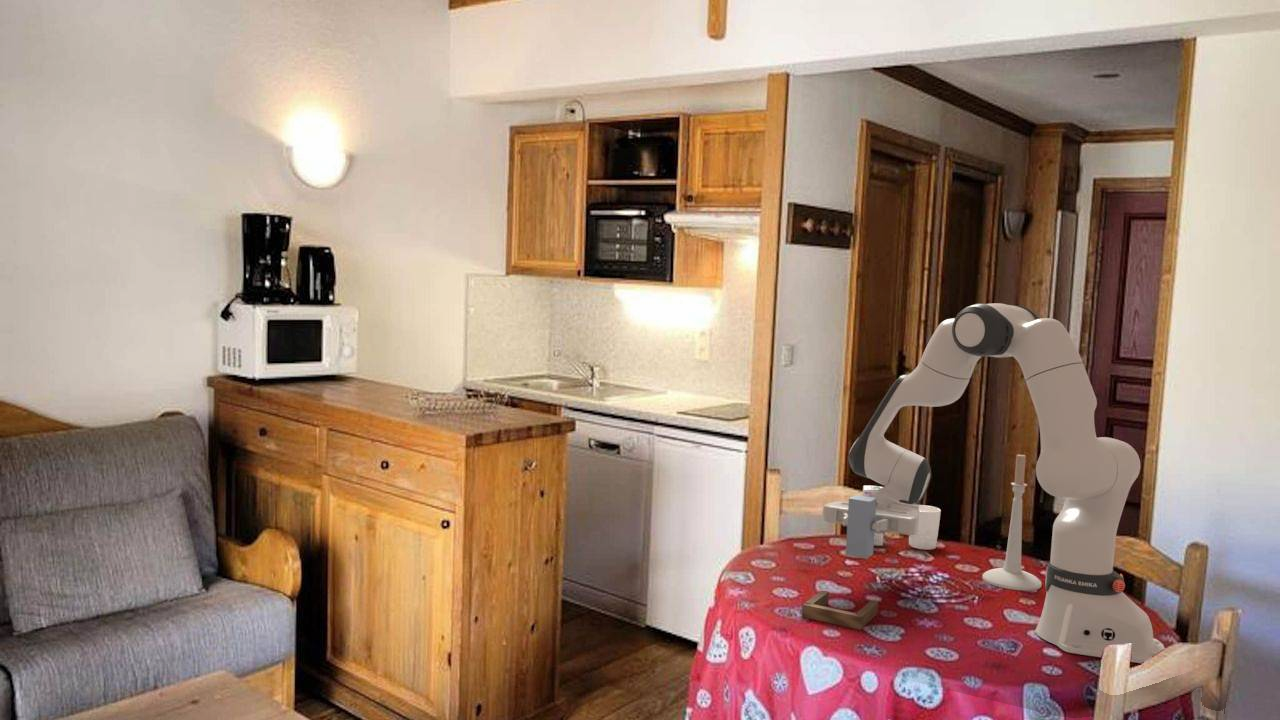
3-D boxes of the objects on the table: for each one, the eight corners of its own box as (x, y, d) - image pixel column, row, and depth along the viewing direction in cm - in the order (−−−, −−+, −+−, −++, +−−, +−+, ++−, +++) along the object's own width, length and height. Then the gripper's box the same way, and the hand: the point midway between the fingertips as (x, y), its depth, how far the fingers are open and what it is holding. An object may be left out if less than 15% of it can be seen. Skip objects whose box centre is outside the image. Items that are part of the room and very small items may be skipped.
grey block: (873, 554, 207) (876, 497, 206) (866, 558, 203) (870, 501, 202) (852, 550, 209) (855, 494, 208) (845, 555, 205) (848, 498, 204)
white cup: (900, 545, 255) (903, 507, 254) (917, 540, 260) (919, 503, 259) (927, 552, 249) (930, 513, 248) (944, 547, 254) (946, 509, 254)
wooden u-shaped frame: (877, 613, 200) (878, 601, 200) (860, 629, 190) (861, 617, 190) (821, 601, 206) (821, 590, 206) (802, 616, 196) (802, 604, 196)
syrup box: (883, 546, 253) (886, 490, 252) (859, 544, 254) (863, 488, 253) (882, 540, 258) (885, 486, 257) (859, 538, 260) (862, 484, 258)
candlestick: (980, 570, 234) (989, 446, 232) (1038, 577, 231) (1047, 451, 229) (984, 586, 222) (993, 455, 220) (1044, 593, 219) (1055, 460, 216)
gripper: (834, 491, 222) (813, 502, 210) (926, 505, 211) (909, 517, 200) (833, 519, 222) (811, 531, 210) (924, 534, 212) (907, 547, 200)
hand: (859, 524), depth 205 cm, fingers closed on grey block, 4 cm apart
